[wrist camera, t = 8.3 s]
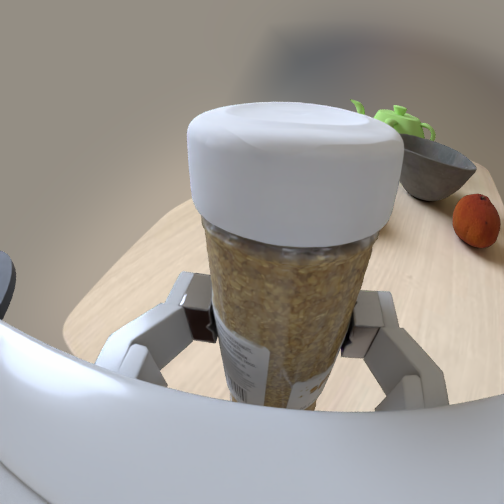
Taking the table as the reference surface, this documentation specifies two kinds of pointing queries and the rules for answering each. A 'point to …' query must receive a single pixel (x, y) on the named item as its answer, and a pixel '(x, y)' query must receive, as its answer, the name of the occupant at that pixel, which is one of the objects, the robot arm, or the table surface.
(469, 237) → the fruit
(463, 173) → the bowl
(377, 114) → the teapot
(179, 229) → the table surface
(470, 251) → the table surface
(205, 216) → the sprinkles bottle
